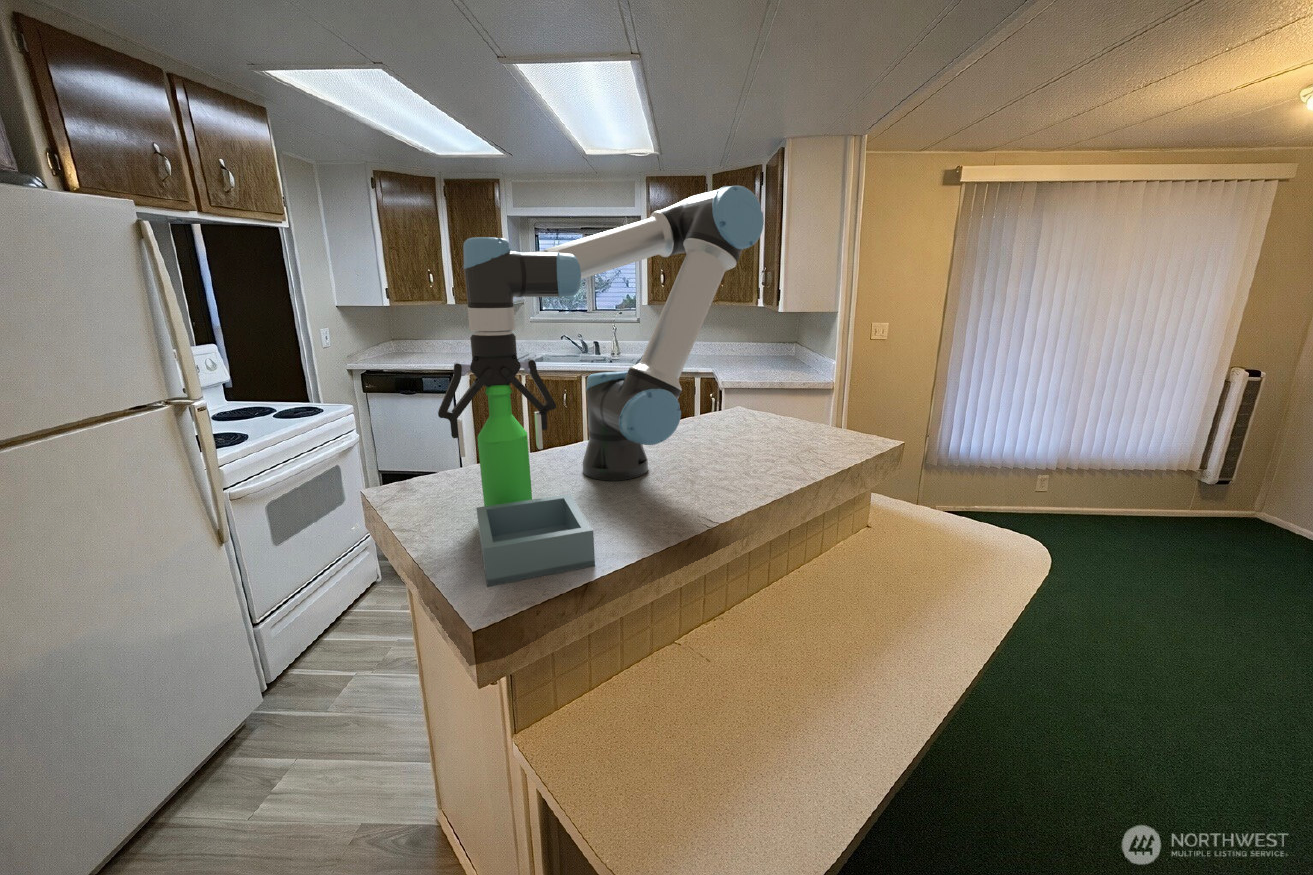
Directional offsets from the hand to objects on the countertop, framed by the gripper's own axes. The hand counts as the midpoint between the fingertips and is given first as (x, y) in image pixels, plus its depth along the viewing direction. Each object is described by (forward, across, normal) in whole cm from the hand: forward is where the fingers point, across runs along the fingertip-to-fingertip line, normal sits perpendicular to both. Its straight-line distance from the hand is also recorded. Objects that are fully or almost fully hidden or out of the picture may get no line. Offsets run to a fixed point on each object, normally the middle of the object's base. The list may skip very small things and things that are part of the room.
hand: (502, 451), depth 100 cm
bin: (+13, -2, +17) cm, 21 cm away
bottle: (+13, 0, 0) cm, 13 cm away
